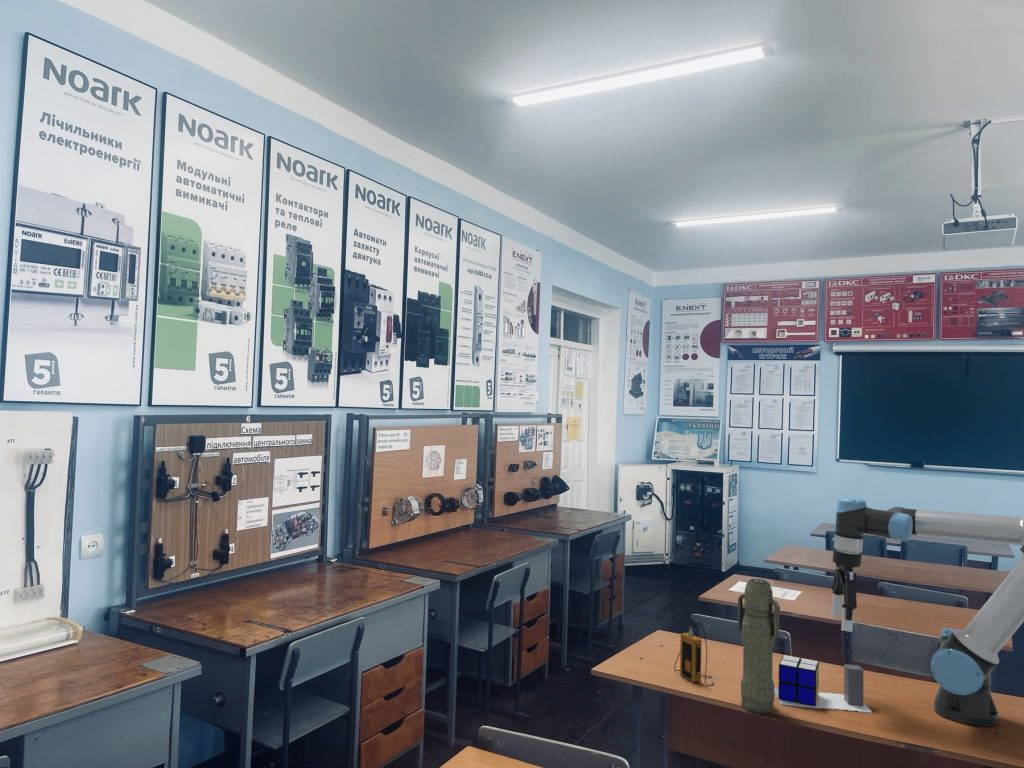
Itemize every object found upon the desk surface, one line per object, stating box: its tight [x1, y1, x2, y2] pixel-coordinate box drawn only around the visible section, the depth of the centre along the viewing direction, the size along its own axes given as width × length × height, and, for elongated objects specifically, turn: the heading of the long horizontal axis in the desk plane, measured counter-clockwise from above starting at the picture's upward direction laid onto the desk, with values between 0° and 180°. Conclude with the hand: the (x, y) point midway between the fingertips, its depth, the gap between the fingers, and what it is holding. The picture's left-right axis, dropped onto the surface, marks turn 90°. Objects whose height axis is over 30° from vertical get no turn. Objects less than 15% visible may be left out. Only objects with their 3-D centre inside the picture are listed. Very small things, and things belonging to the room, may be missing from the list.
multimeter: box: [673, 611, 719, 687], centre depth 221 cm, size 15×10×20 cm
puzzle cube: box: [777, 654, 820, 706], centre depth 206 cm, size 10×10×10 cm
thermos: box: [737, 578, 781, 714], centre depth 200 cm, size 9×12×35 cm
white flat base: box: [774, 663, 873, 714], centre depth 205 cm, size 24×12×10 cm, turn 80°
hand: (841, 623), depth 206 cm, fingers open, 13 cm apart
